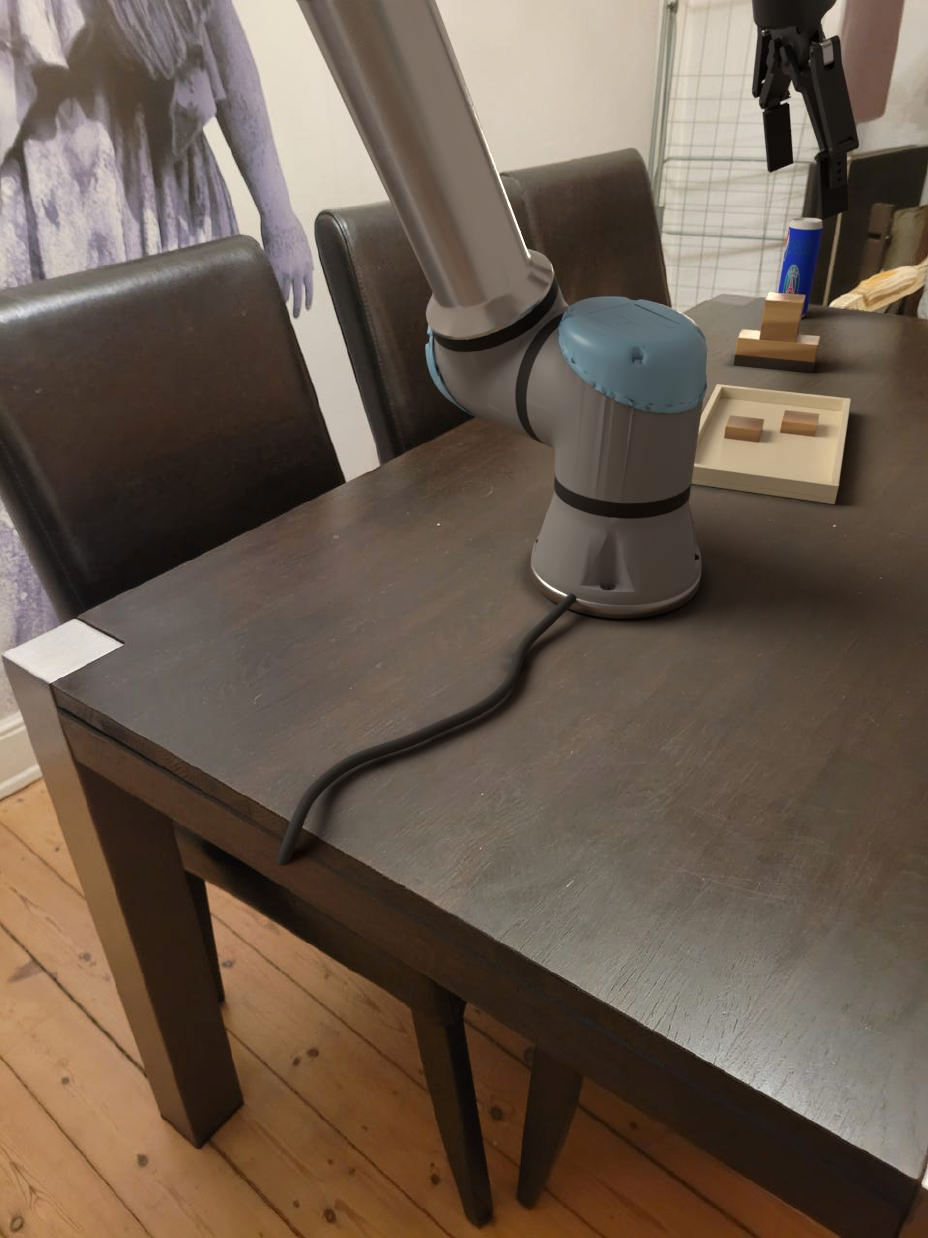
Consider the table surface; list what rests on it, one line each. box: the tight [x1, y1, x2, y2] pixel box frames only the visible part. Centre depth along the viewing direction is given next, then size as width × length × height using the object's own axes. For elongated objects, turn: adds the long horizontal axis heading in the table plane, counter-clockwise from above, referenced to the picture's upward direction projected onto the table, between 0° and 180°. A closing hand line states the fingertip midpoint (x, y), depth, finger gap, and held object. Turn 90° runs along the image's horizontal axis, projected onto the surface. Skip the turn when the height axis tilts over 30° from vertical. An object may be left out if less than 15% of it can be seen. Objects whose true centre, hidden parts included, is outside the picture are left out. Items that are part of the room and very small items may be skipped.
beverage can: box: [777, 217, 824, 318], centre depth 152 cm, size 5×5×15 cm
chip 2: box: [780, 410, 819, 437], centre depth 111 cm, size 4×4×2 cm
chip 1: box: [724, 415, 764, 442], centre depth 110 cm, size 4×4×2 cm
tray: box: [691, 383, 852, 505], centre depth 109 cm, size 28×17×2 cm, turn 158°
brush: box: [733, 291, 821, 374], centre depth 132 cm, size 4×11×10 cm, turn 68°
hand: (805, 189), depth 100 cm, fingers open, 13 cm apart
